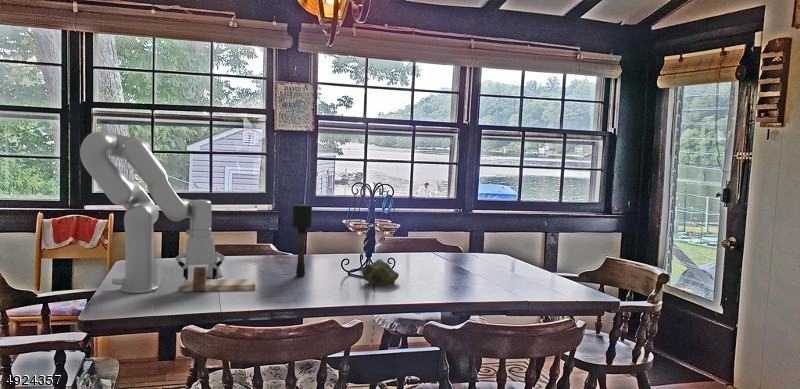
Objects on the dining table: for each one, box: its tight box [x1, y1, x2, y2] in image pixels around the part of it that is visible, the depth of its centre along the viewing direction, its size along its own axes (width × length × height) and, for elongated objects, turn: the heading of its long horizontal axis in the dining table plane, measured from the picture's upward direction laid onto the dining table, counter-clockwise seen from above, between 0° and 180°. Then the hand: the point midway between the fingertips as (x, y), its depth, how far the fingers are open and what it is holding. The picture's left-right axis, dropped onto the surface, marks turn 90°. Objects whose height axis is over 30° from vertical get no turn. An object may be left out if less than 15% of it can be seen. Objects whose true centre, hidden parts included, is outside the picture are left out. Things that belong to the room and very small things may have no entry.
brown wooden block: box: [192, 266, 207, 292], centre depth 226 cm, size 4×14×8 cm, turn 14°
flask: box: [206, 251, 223, 279], centre depth 246 cm, size 7×7×10 cm
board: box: [181, 278, 256, 292], centre depth 228 cm, size 26×10×2 cm, turn 104°
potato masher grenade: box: [291, 203, 313, 277], centre depth 253 cm, size 8×9×30 cm
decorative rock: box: [361, 258, 399, 286], centre depth 244 cm, size 15×16×10 cm
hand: (200, 278), depth 224 cm, fingers open, 9 cm apart
